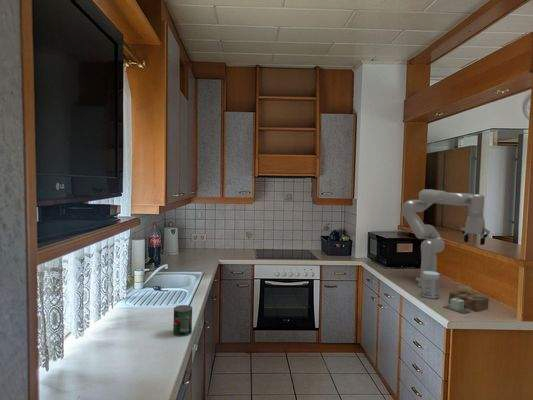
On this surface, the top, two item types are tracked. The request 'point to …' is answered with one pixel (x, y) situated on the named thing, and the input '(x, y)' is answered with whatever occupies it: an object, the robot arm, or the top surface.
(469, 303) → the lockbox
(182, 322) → the canned tomato
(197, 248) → the top surface
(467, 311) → the mat
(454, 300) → the cover
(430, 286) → the supplement tub
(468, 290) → the t bolt
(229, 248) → the top surface
